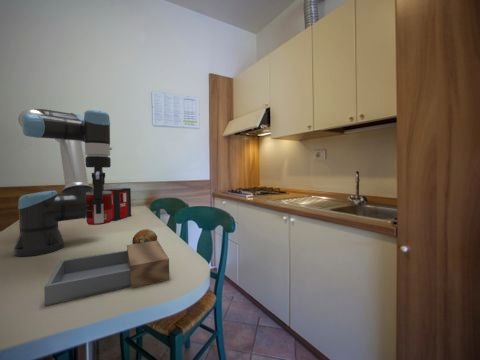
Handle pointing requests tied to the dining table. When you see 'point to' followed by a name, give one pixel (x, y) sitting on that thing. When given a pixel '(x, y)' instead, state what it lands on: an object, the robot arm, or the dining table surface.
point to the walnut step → (147, 263)
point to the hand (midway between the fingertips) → (99, 220)
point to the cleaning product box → (120, 203)
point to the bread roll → (144, 236)
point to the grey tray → (87, 277)
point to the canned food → (106, 207)
